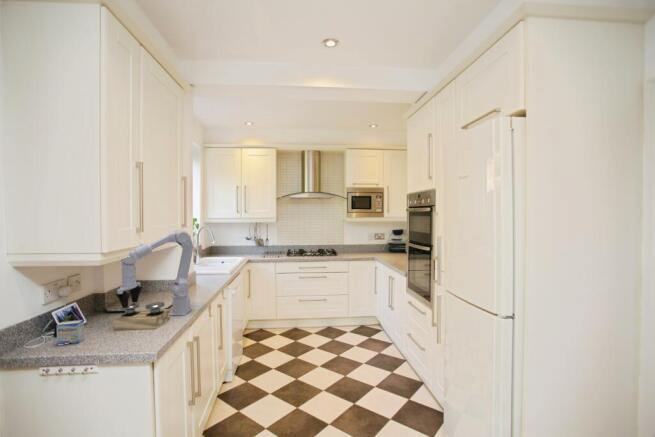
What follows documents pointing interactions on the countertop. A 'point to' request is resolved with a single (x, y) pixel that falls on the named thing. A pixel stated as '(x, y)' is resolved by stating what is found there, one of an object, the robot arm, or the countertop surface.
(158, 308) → the peg
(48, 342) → the countertop surface
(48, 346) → the countertop surface
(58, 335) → the medicine box
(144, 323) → the block
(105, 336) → the countertop surface
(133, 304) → the peg
